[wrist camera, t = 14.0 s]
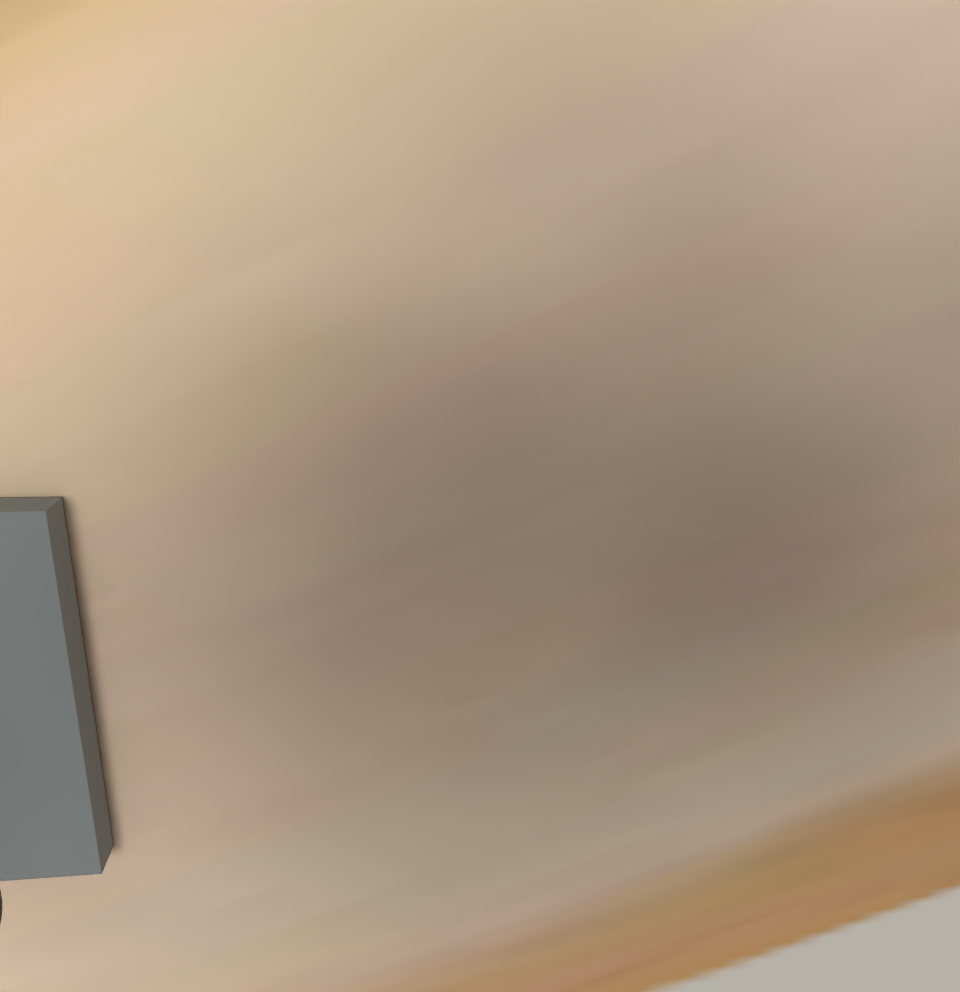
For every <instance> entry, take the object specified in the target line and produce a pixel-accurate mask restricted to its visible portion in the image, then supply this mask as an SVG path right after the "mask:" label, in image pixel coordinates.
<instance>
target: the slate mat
mask: <svg viewBox="0 0 960 992" xmlns="http://www.w3.org/2000/svg"><path fill="white" fill-rule="evenodd" d="M112 848H113V840H112V834H111V827H110V820H109V813H108V806H107V800H106V793H105V786H104V779H103V772H102V766H101V759H100V752H99V745H98V738H97V732H96V725H95V718H94V711H93V705H92V698H91V691H90V684H89V677H88V671H87V664H86V657H85V650H84V643H83V637H82V630H81V623H80V616H79V609H78V603H77V596H76V589H75V582H74V575H73V569H72V562H71V555H70V548H69V541H68V535H67V528H66V521H65V514H64V507H63V501H62V497H18V498H0V881H7V880H21V879H35V878H49V877H63V876H77V875H91V874H102V872H103V869H104V867H105V865H106V862H107V860H108V857H109V855H110V853H111V850H112Z"/></svg>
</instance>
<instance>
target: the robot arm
mask: <svg viewBox="0 0 960 992" xmlns="http://www.w3.org/2000/svg"><path fill="white" fill-rule="evenodd" d="M1 917H2V896H1V891H0V923H1Z"/></svg>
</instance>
